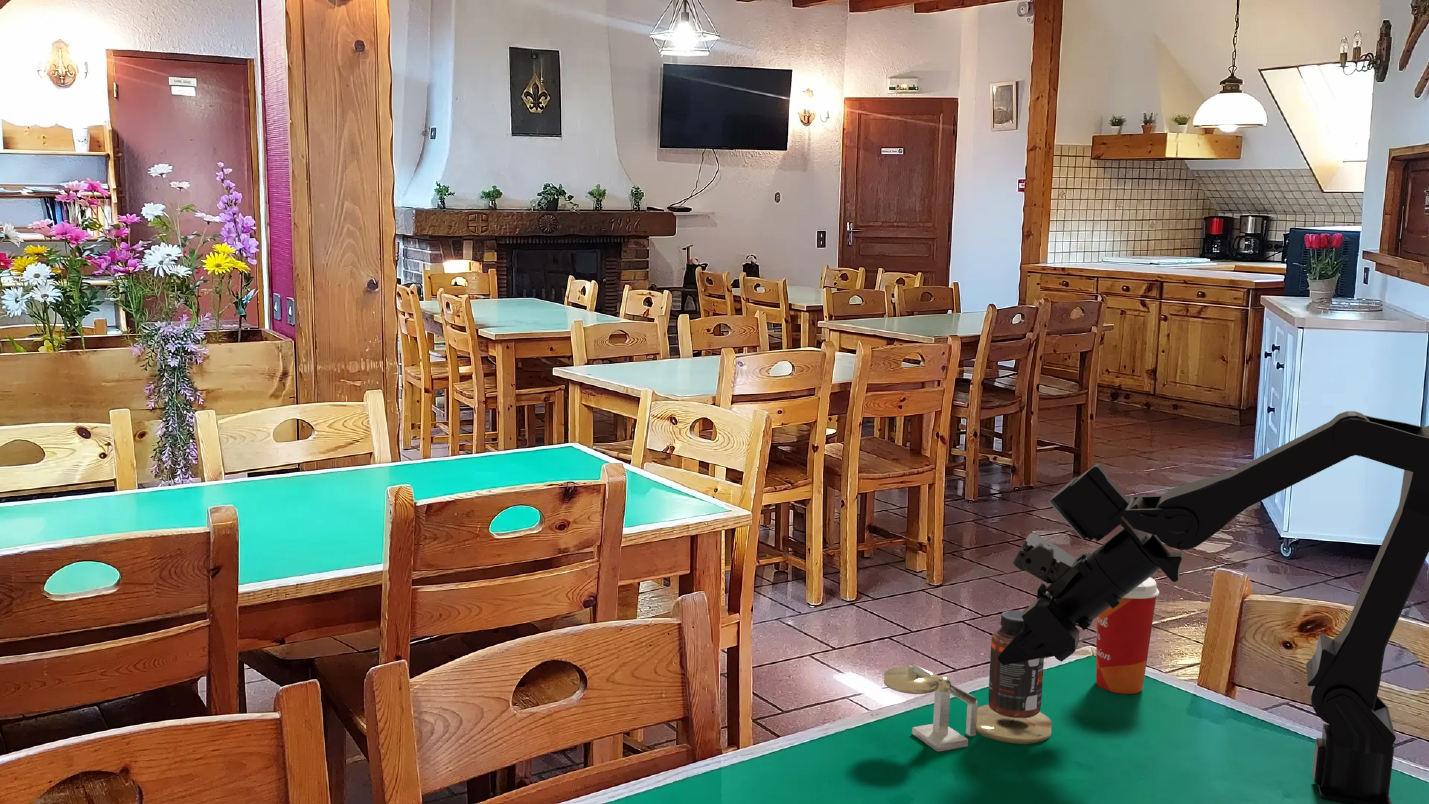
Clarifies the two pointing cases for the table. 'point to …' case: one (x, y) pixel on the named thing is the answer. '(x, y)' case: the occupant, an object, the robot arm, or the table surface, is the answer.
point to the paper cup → (1125, 640)
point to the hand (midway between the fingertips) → (1005, 652)
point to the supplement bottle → (1013, 674)
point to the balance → (977, 717)
